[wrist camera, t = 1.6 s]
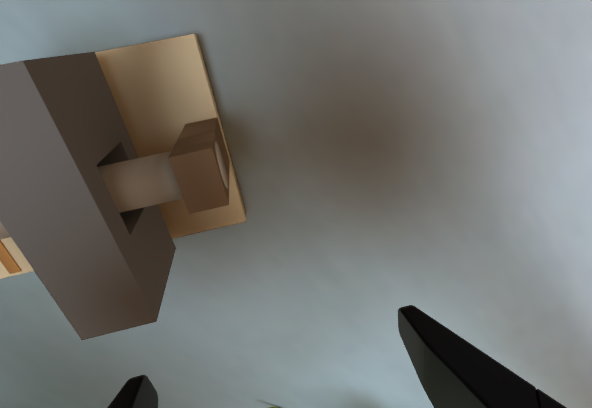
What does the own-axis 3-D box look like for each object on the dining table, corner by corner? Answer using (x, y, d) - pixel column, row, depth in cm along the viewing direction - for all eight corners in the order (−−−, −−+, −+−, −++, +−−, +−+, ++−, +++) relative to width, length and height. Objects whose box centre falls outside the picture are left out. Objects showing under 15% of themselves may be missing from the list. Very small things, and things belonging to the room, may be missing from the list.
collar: (94, 51, 14) (22, 60, 9) (175, 247, 18) (156, 321, 14) (19, 65, 14) (-95, 82, 9) (120, 260, 18) (81, 340, 14)
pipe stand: (196, 33, 16) (177, 33, 10) (245, 211, 21) (250, 277, 15) (-209, 110, 15) (-481, 156, 9) (-59, 282, 19) (-177, 382, 14)
